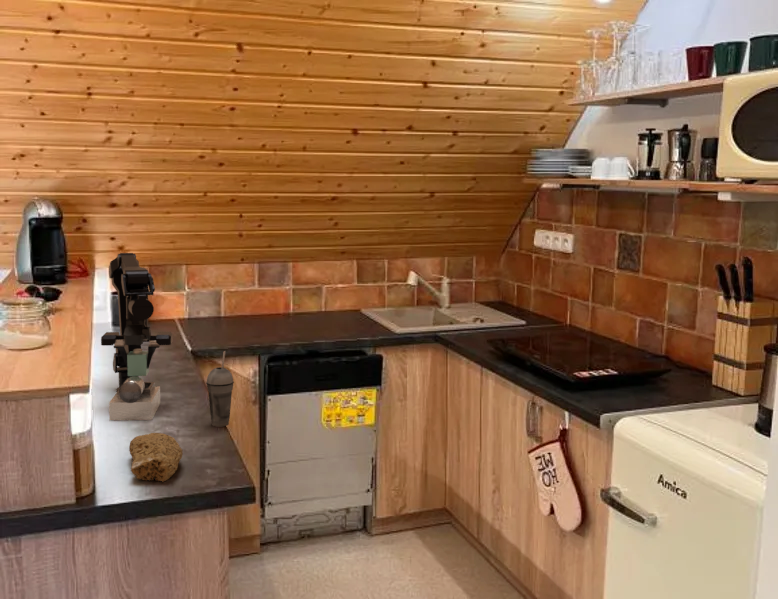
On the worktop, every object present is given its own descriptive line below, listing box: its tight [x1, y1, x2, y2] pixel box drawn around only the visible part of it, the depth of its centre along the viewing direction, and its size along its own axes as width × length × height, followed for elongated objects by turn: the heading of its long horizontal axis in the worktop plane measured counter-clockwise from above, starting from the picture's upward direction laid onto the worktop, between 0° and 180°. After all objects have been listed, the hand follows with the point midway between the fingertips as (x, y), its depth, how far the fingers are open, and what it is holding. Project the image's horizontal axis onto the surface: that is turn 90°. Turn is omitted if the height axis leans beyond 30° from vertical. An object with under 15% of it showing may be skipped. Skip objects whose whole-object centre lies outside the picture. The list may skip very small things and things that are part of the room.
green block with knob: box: [127, 348, 150, 377], centre depth 216 cm, size 5×5×7 cm
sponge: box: [128, 432, 183, 483], centre depth 173 cm, size 13×8×20 cm
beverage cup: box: [205, 350, 235, 428], centre depth 204 cm, size 7×7×20 cm
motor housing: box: [108, 376, 161, 421], centre depth 213 cm, size 16×11×11 cm
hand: (138, 368), depth 216 cm, fingers closed on green block with knob, 5 cm apart
